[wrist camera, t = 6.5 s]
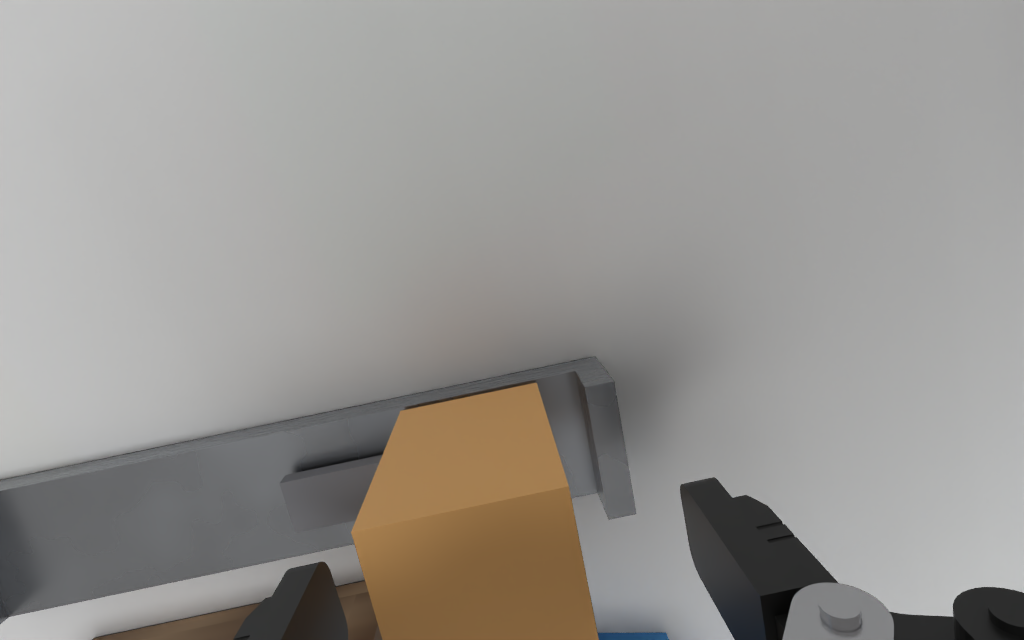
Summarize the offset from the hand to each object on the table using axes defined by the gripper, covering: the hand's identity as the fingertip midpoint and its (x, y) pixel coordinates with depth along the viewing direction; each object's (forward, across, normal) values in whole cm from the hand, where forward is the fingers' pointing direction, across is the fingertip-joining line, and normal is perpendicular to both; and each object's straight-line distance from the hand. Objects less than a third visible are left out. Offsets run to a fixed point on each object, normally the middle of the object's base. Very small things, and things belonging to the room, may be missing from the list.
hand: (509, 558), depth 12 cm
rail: (+5, +7, 0) cm, 9 cm away
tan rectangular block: (+4, +2, 0) cm, 5 cm away
